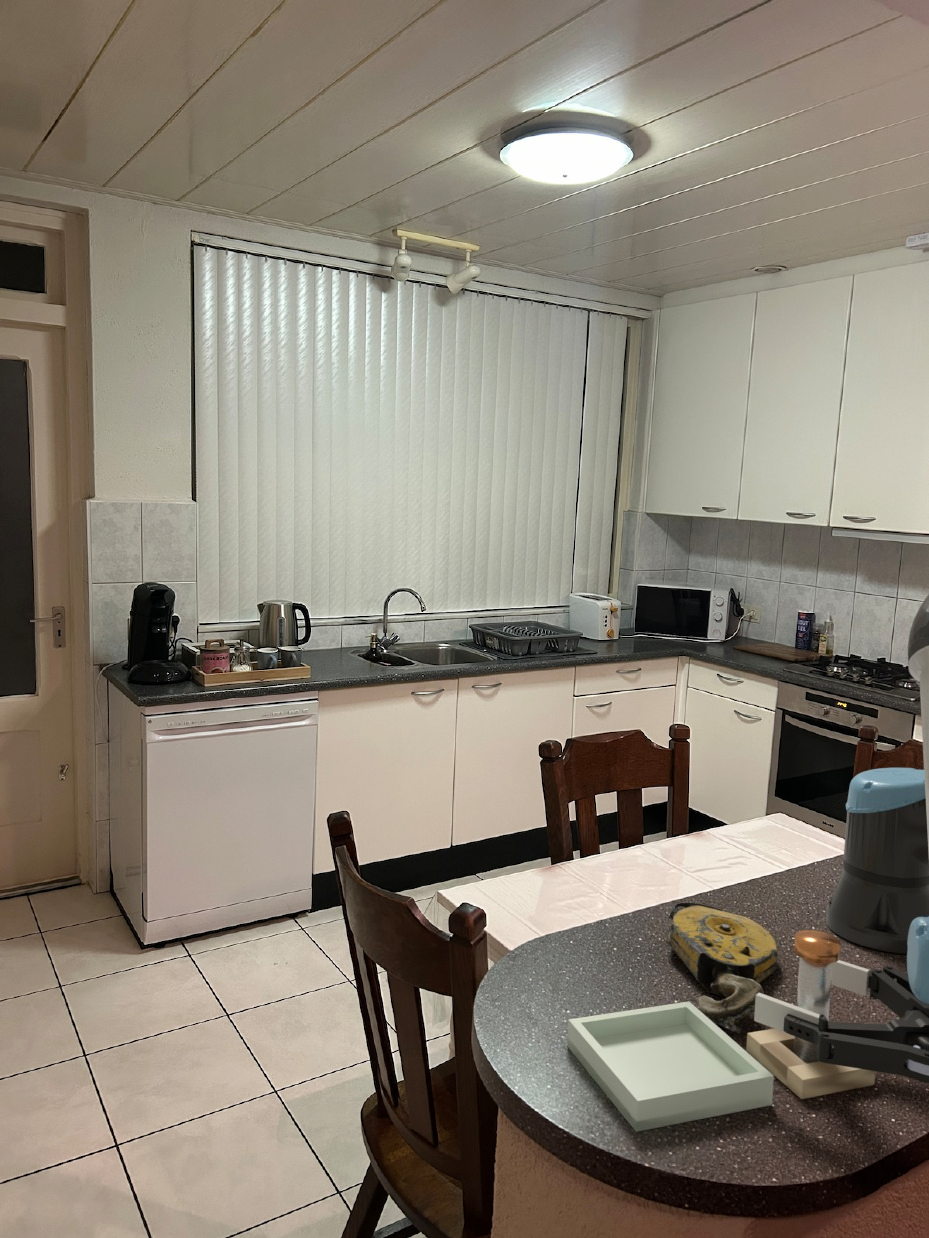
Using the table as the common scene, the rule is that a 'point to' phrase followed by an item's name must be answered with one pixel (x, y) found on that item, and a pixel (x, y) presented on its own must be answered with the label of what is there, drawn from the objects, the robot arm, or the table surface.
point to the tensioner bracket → (803, 1066)
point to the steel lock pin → (814, 980)
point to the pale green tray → (668, 1065)
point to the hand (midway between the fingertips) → (782, 983)
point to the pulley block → (723, 958)
